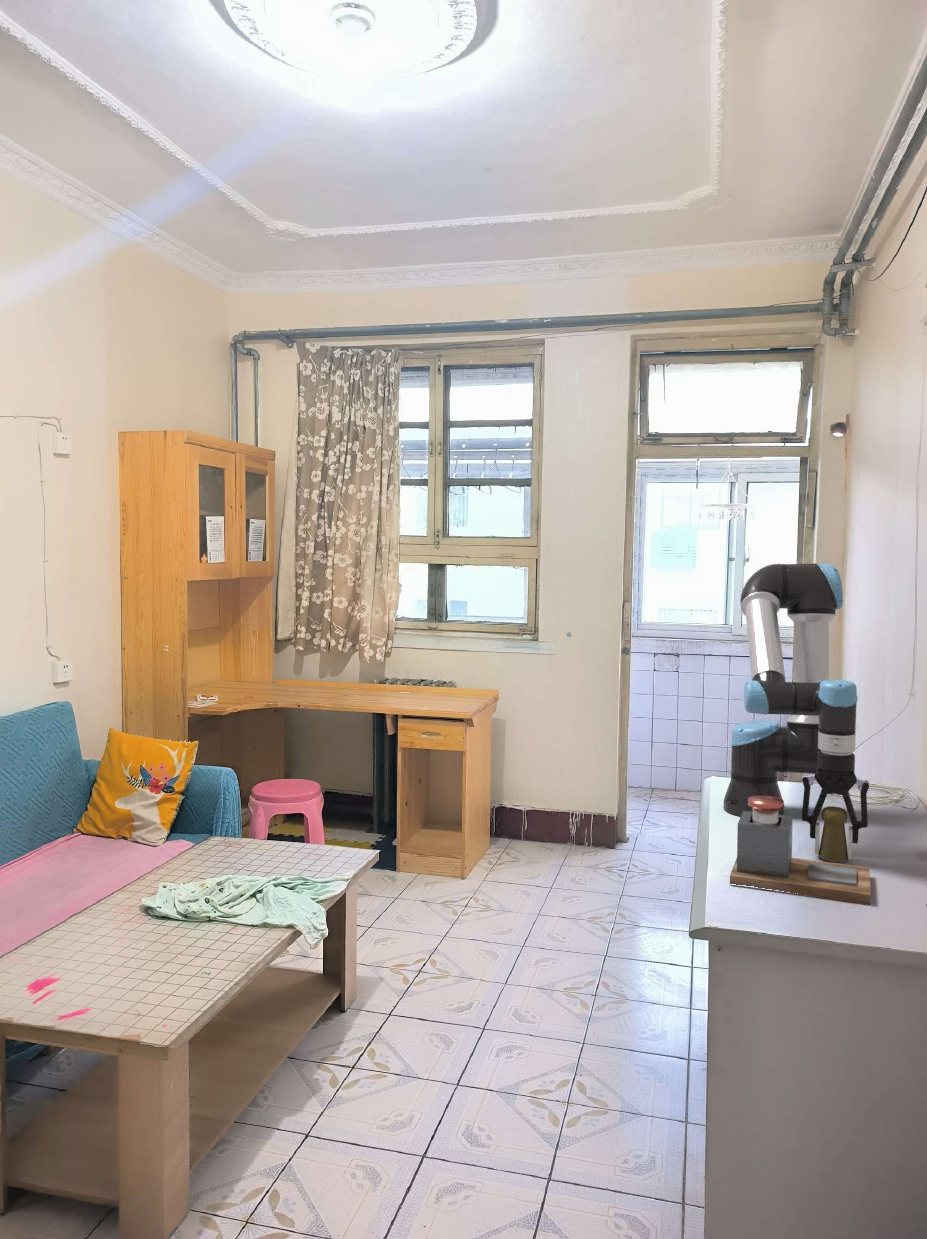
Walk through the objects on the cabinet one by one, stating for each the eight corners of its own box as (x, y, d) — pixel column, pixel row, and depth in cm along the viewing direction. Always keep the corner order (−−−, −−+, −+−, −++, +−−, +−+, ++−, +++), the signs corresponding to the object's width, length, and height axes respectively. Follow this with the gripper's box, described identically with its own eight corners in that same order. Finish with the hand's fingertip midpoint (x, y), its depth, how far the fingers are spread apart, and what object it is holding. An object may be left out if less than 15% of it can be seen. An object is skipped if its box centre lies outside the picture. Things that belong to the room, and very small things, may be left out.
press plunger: (749, 836, 188) (750, 794, 188) (784, 840, 185) (785, 797, 185) (745, 846, 182) (746, 802, 181) (781, 850, 179) (782, 806, 178)
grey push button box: (742, 856, 191) (743, 810, 190) (791, 862, 187) (792, 816, 186) (736, 871, 182) (737, 823, 181) (788, 878, 178) (789, 829, 177)
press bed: (739, 860, 194) (739, 848, 194) (869, 876, 183) (869, 864, 183) (729, 885, 179) (729, 872, 179) (870, 905, 169) (870, 891, 169)
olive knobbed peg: (847, 853, 196) (848, 805, 195) (849, 862, 190) (850, 813, 189) (817, 850, 198) (819, 802, 197) (819, 859, 192) (820, 810, 191)
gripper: (788, 751, 192) (786, 854, 194) (885, 759, 185) (881, 866, 187) (791, 744, 199) (788, 843, 201) (883, 751, 191) (880, 855, 193)
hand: (833, 854), depth 194 cm, fingers closed on olive knobbed peg, 6 cm apart
